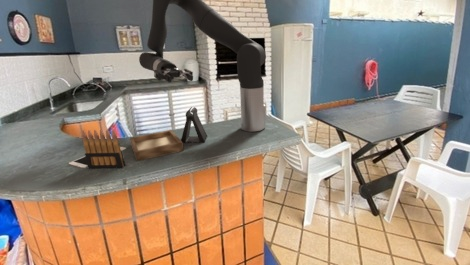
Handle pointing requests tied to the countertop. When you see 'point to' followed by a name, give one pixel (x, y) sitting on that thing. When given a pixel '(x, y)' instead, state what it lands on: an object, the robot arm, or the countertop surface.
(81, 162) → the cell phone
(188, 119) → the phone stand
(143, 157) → the shallow tray
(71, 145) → the countertop surface
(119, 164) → the ammunition clip
